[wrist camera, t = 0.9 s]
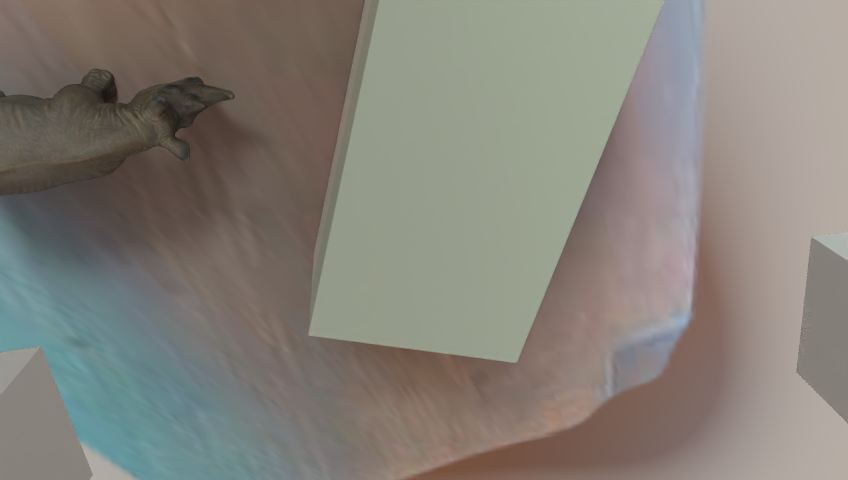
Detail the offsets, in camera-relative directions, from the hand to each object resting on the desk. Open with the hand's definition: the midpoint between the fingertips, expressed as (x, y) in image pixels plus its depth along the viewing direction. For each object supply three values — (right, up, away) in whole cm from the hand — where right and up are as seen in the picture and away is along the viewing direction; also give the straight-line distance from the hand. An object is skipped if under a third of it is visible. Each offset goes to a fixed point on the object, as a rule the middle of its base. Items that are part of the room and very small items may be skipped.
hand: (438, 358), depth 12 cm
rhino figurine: (-15, +8, +20) cm, 27 cm away
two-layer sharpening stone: (+1, +8, +22) cm, 23 cm away
